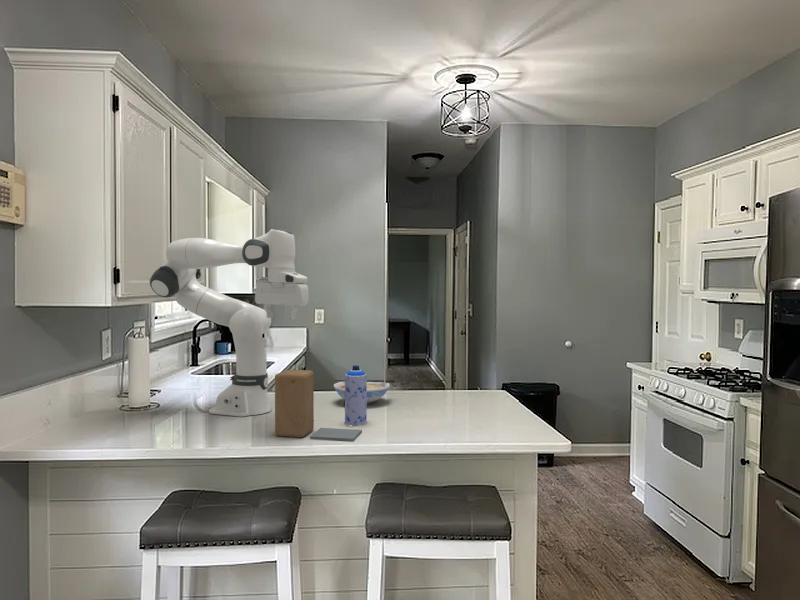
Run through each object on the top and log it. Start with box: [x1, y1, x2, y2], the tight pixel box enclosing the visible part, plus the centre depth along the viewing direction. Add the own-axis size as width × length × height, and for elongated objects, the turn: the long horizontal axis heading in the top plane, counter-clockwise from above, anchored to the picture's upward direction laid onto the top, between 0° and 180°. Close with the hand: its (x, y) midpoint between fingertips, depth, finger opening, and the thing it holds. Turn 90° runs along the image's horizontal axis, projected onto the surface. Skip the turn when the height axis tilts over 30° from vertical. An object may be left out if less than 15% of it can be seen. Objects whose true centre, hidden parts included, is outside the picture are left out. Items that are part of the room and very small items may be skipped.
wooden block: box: [274, 369, 315, 438], centre depth 189 cm, size 10×10×20 cm
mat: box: [309, 427, 363, 442], centre depth 186 cm, size 14×11×1 cm
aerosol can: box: [344, 365, 368, 427], centre depth 203 cm, size 8×8×20 cm
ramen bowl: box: [333, 379, 396, 405], centre depth 236 cm, size 25×23×8 cm
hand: (280, 318), depth 196 cm, fingers open, 8 cm apart
